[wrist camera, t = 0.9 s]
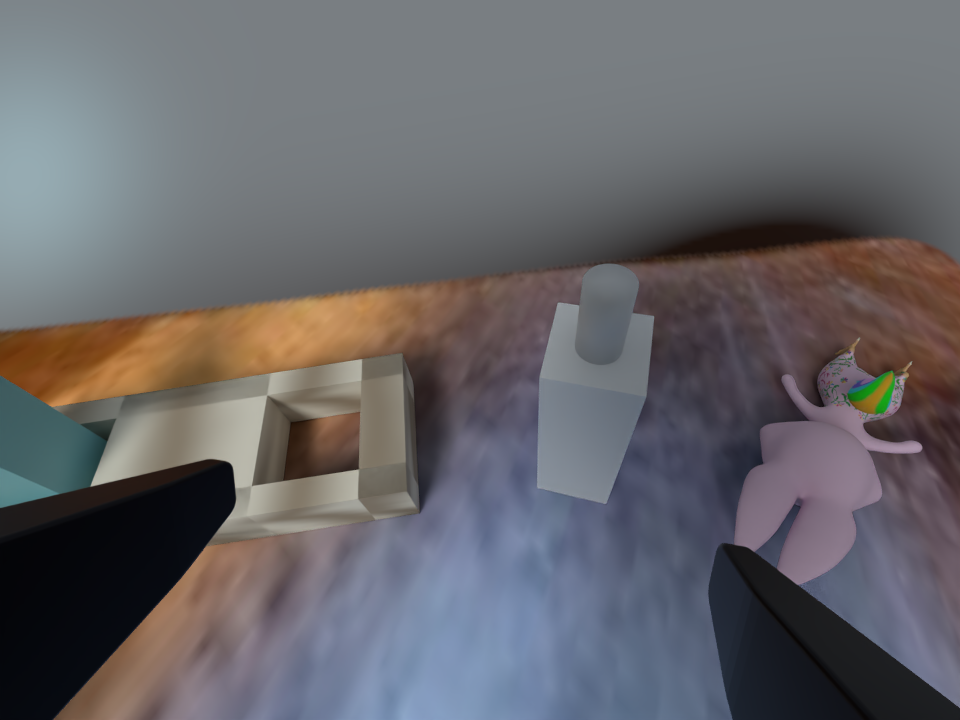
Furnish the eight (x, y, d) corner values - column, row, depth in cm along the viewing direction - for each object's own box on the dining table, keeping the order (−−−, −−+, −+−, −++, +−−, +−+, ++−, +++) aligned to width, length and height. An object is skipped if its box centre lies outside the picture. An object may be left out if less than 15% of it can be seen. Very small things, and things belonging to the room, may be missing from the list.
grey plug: (606, 504, 23) (668, 337, 12) (536, 487, 24) (540, 317, 13) (614, 441, 25) (674, 250, 14) (550, 428, 26) (562, 237, 15)
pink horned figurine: (792, 359, 28) (669, 535, 21) (852, 279, 24) (724, 466, 16) (911, 419, 26) (818, 648, 18) (1003, 341, 21) (931, 601, 14)
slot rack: (413, 383, 28) (402, 352, 26) (419, 513, 23) (406, 491, 21) (39, 440, 28) (-7, 416, 26) (-27, 582, 23) (-92, 568, 21)
